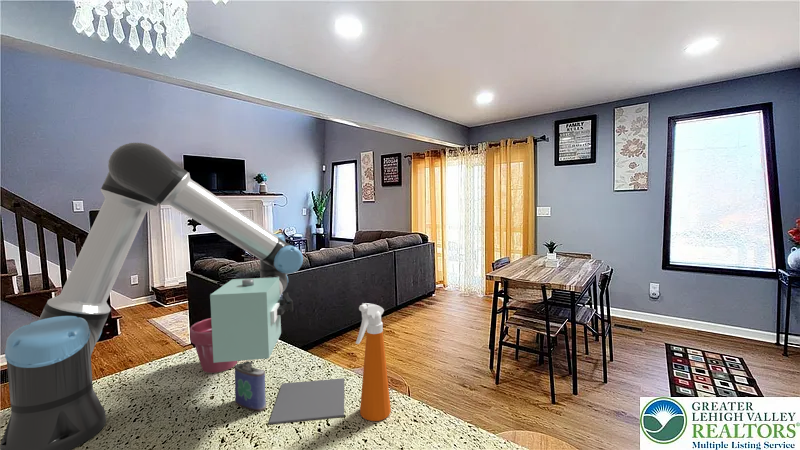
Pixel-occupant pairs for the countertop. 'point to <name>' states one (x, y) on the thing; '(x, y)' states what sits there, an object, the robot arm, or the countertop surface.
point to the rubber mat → (309, 401)
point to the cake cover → (244, 319)
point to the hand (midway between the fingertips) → (244, 318)
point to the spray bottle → (374, 366)
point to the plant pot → (207, 347)
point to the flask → (250, 387)
